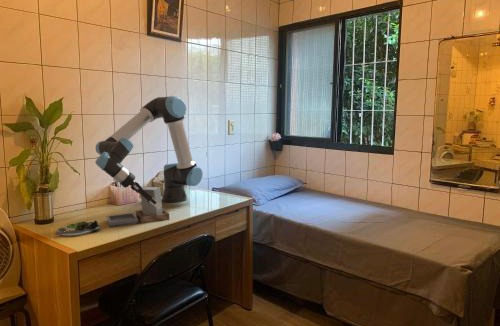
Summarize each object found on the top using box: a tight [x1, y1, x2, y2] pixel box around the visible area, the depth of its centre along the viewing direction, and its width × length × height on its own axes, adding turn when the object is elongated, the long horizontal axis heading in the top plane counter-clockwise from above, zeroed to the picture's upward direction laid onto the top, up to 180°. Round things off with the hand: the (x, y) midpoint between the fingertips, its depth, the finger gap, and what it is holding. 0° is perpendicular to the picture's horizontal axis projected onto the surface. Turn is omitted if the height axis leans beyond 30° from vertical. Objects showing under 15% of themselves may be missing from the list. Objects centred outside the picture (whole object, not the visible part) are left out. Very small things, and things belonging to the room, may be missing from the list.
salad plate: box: [55, 219, 101, 237], centre depth 171 cm, size 19×18×5 cm
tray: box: [106, 212, 139, 228], centre depth 185 cm, size 13×13×2 cm
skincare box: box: [140, 186, 163, 216], centre depth 192 cm, size 8×7×16 cm
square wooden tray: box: [135, 207, 170, 224], centre depth 192 cm, size 14×14×3 cm
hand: (157, 204), depth 193 cm, fingers closed on skincare box, 10 cm apart
